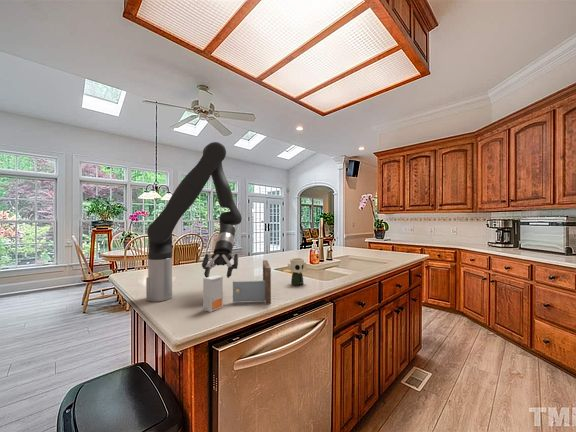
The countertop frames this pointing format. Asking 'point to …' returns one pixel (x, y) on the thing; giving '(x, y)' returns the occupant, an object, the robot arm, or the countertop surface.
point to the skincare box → (212, 293)
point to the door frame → (267, 280)
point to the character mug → (297, 270)
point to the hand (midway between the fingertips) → (217, 276)
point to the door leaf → (249, 291)
